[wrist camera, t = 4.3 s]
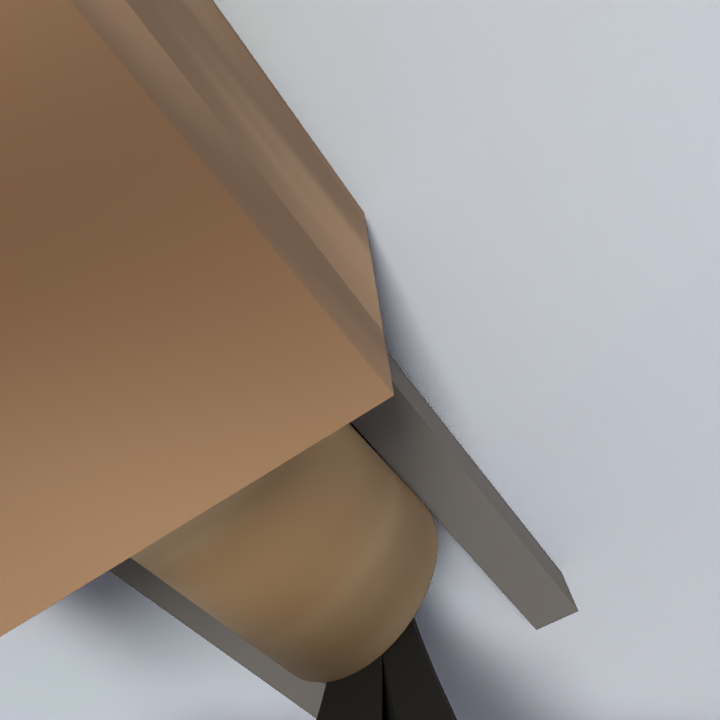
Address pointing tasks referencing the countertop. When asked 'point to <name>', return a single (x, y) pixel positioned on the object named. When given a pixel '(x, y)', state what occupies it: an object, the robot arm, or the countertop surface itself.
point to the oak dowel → (309, 559)
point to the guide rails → (446, 502)
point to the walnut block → (159, 285)
